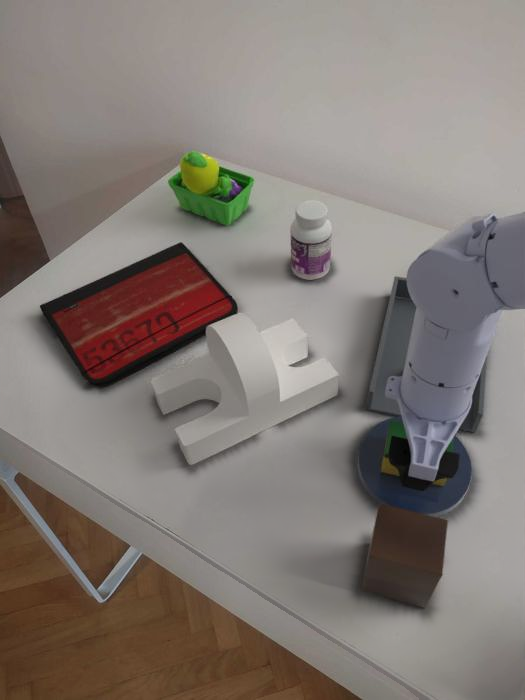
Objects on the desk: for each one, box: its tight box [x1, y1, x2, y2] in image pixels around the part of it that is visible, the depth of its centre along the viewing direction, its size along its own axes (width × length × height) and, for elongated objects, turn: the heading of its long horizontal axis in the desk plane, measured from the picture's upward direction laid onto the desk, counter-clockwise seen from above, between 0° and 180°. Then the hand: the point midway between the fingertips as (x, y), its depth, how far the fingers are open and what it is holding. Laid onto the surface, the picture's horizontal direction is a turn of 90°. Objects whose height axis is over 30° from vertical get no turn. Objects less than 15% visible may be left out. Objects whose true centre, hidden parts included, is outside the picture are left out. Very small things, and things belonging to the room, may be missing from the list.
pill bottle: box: [290, 199, 333, 281], centre depth 75 cm, size 5×5×10 cm
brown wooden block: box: [361, 503, 449, 609], centre depth 48 cm, size 4×6×8 cm
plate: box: [357, 416, 473, 518], centre depth 57 cm, size 11×11×1 cm
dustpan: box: [365, 275, 488, 434], centre depth 68 cm, size 25×12×3 cm, turn 163°
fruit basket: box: [167, 150, 255, 227], centre depth 84 cm, size 11×9×11 cm
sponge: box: [381, 420, 454, 486], centre depth 56 cm, size 4×6×4 cm, turn 73°
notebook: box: [39, 241, 239, 388], centre depth 73 cm, size 16×2×21 cm
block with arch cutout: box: [150, 312, 340, 466], centre depth 60 cm, size 18×10×11 cm, turn 118°
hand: (418, 450), depth 55 cm, fingers open, 7 cm apart
